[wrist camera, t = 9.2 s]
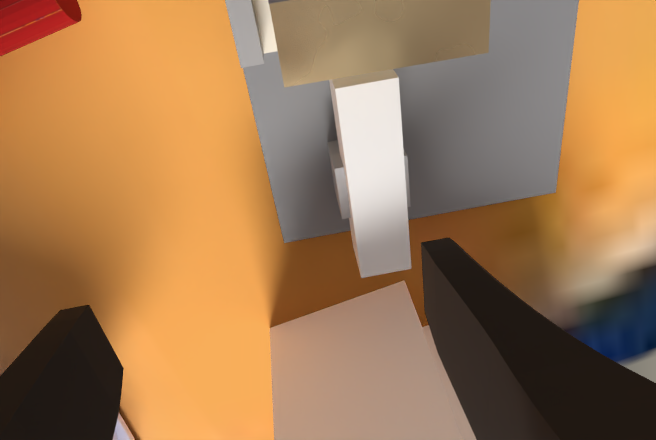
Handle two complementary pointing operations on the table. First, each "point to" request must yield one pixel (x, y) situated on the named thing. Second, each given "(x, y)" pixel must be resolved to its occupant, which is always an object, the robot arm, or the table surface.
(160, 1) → the table surface
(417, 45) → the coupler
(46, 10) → the mechanical clamp
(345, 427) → the corner bracket
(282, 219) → the shaft stand
